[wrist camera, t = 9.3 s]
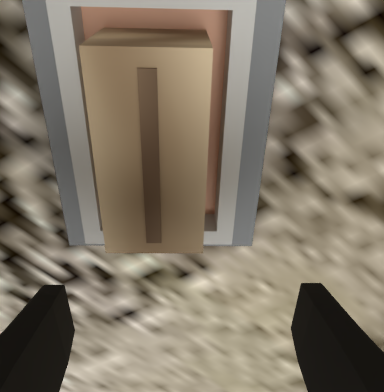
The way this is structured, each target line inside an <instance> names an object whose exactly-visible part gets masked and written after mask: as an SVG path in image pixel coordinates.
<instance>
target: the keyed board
mask: <svg viewBox="0 0 384 392" xmlns="http://www.w3.org/2000/svg"><path fill="white" fill-rule="evenodd" d="M22 2H23V8H24V13H25V18H26V23H27V28H28V33H29V39H30V44H31V49H32V54H33V59H34V64H35V69H36V75H37V80H38V85H39V90H40V95H41V100H42V105H43V111H44V116H45V121H46V126H47V131H48V136H49V141H50V147H51V152H52V157H53V162H54V167H55V172H56V178H57V183H58V188H59V193H60V198H61V203H62V208H63V214H64V219H65V224H66V229H67V234H68V239H69V244H70V245H105V243H104V235H103V228H102V220H101V212H100V205H99V197H98V189H97V181H96V174H95V166H94V158H93V151H92V143H91V135H90V128H89V120H88V112H87V105H86V97H85V89H84V81H83V74H82V66H81V58H80V51H79V45H80V44H82V43H83V42H84V41H86V40H87V39H88V38H90V37H91V36H93V35H94V34H95V33H97V32H98V31H99V30H101V29H102V28H149V29H195V30H206V31H207V34H208V36H209V39H210V41H211V44H212V47H213V62H212V82H211V102H210V122H209V142H208V162H207V182H206V202H205V221H204V241H203V246H252V241H253V233H254V226H255V219H256V212H257V205H258V197H259V190H260V183H261V176H262V169H263V161H264V154H265V147H266V140H267V133H268V125H269V118H270V111H271V104H272V97H273V89H274V82H275V75H276V68H277V61H278V53H279V46H280V39H281V32H282V25H283V17H284V10H285V3H286V0H22Z"/></svg>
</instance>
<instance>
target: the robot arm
mask: <svg viewBox="0 0 384 392" xmlns="http://www.w3.org/2000/svg"><path fill="white" fill-rule="evenodd" d="M291 331H292V336H293V341H294V346H295V350H296V355H297V359H298V363H299V366H300V369H301V372H302V375H303V378H304V381H305V384H306V387H307V390H308V392H384V352H383V351H382V350H381V349H380V348H379V347H378V346H377V345H376V344H375V343H374V342H373V341H372V340H371V339H370V338H369V337H368V335H367V334H366V333H365V332H364V331H363V330H362V329H361V328H360V327H359V326H358V325H357V324H356V322H355V321H354V320H353V319H352V318H351V317H350V316H349V315H348V313H347V312H346V311H345V310H344V309H343V308H342V307H341V305H340V304H339V303H338V302H337V301H336V300H335V298H334V297H333V296H332V295H331V294H330V293H329V291H328V290H327V289H326V288H325V287H324V286H323V285H322V284H321V283H301V287H300V291H299V295H298V299H297V304H296V308H295V312H294V317H293V321H292V325H291ZM74 332H75V329H74V325H73V320H72V316H71V312H70V307H69V303H68V299H67V294H66V290H65V286H64V285H44V286H43V287H41V288H40V290H39V291H38V292H37V293H36V294H35V295H34V297H33V298H32V299H31V300H30V301H29V302H28V304H27V305H26V306H25V307H24V308H23V309H22V311H21V312H20V313H19V314H18V315H17V316H16V318H15V319H14V320H13V321H12V322H11V323H10V324H9V326H8V327H7V328H6V329H5V330H4V331H3V332H2V333H1V334H0V392H59V390H60V387H61V384H62V381H63V378H64V375H65V371H66V368H67V365H68V361H69V356H70V352H71V347H72V342H73V337H74Z"/></svg>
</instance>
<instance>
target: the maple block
mask: <svg viewBox="0 0 384 392" xmlns="http://www.w3.org/2000/svg"><path fill="white" fill-rule="evenodd" d="M79 51H80V58H81V66H82V74H83V81H84V89H85V97H86V105H87V112H88V120H89V128H90V135H91V143H92V151H93V158H94V166H95V174H96V181H97V189H98V197H99V205H100V212H101V220H102V228H103V235H104V243H105V251H106V253H203V241H204V221H205V202H206V182H207V162H208V142H209V122H210V102H211V82H212V62H213V47H212V44H211V41H210V39H209V36H208V34H207V31H206V30H195V29H149V28H102V29H101V30H99V31H98V32H97V33H95V34H94V35H93V36H91V37H90V38H88V39H87V40H86V41H84V42H83V43H82V44H80V45H79Z"/></svg>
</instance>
